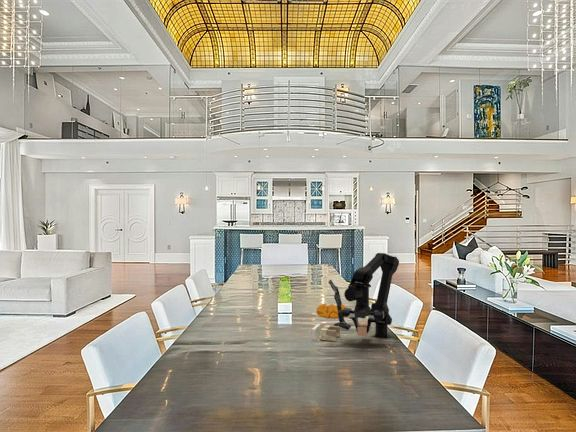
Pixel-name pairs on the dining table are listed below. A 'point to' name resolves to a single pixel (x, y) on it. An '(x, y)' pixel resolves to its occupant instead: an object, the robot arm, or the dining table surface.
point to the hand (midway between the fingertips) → (362, 332)
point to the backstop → (316, 331)
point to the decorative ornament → (328, 311)
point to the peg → (362, 329)
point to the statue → (339, 308)
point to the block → (330, 332)
